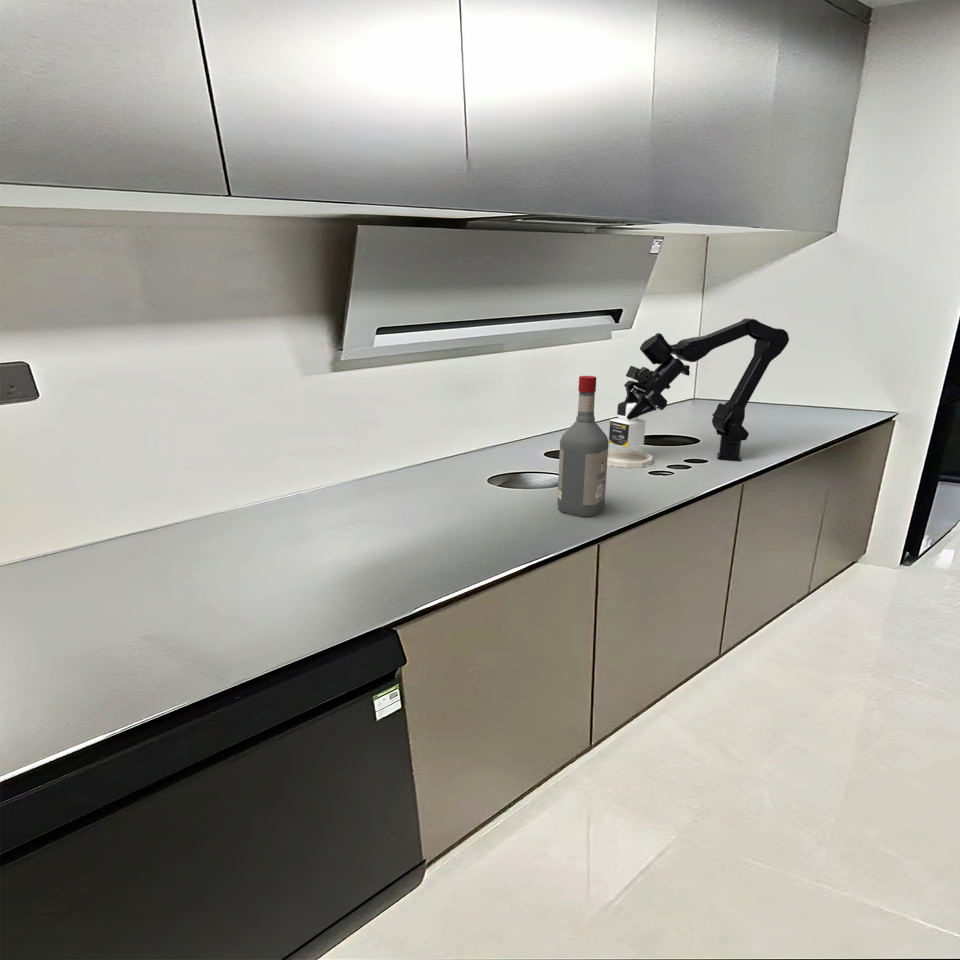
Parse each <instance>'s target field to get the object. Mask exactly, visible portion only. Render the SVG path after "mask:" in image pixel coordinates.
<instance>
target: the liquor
mask: <svg viewBox="0 0 960 960" xmlns="http://www.w3.org/2000/svg"><path fill="white" fill-rule="evenodd" d="M596 390H597V376H593V375H581V376H579V377H578V405H577V415H576V418H575V421H574V423H572V425H570V427H569V428H568V429H567V430H566V431H565V432H564V433H563V434H562V436H561V438H560V439H559V455H558V456H559V458H558V483H557V507H558V509H559V510H560V511H561V512H562V513H563V514H567V515H571V516H576V517H580V518H589V517H591V518H592V517H594V516H596V515H598V514H599V513H600V512H602V511H603V510H604V509H605V504H606V503H605V501H606V489H607V488H606V486H607V470H608V466H607V459H608V449H609V445H610V444H609V437H608V436H607V435H606V433H605V432H604V431H603V430H602V428H601V427H600V426H599V425H598V424H597V422H596V418H595V417H596V416H595V399H596V398H595V395H596V394H595V393H596Z"/></svg>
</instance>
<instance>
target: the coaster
mask: <svg viewBox="0 0 960 960" xmlns="http://www.w3.org/2000/svg"><path fill="white" fill-rule="evenodd" d="M653 458H654V457H653V455H651V454H649V453H648V452H645V451H640V450H637V449H630V448H608V459H607V465H610V466H620V467H642V466H646V465H650V464H651V465H652V464H653V460H654V459H653ZM651 465H650V466H651ZM610 466H609V467H610ZM646 467H647V466H646Z"/></svg>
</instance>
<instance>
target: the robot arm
mask: <svg viewBox="0 0 960 960" xmlns="http://www.w3.org/2000/svg"><path fill="white" fill-rule="evenodd" d="M747 336H748V337H750V338H751V339H753V340H755V342H754V345H753V346H754V348H753V350H754V351H753V356H752V358H751V360H750V362H749V363H748V365H747V367H746V369H745V370H744V373H743V374H742V376H741V378H740V380H739V382H738V383H737V385H736V388H734V390H733V393H732V394H731V397H730V398H729V400H728V401H726V402H725V403H724V404H723V403H721V402H719V403H718V405H717V407H716V409H715V411H714V412H713V413H712V414H711V415H712V420H711V423H712V426H713V428H714V429H715V431H716V434H717V435H718V436H720V443H719V452H717V453H716V456H717V458H716V459H717V460H728V461H736V462H737V461H738V462H739V461H742V456H741V454H740V453H741V447H742V441H747V439H748V437H749V435H750V433H749V432H748V431H747V429H746V428H745V427H744V426H743V423H744V420H745V417H746V414H745V413H746V407H747V405H748V403H749V401H750V399H751V398H752V396H753V394H754V392H755V391H756V388H757V387H758V385H759V384H760V381H761V380H762V377H763V376H764V374H765V372H766V370H767V368H768V367H769V366H770V363H771V362H772V361H773V360H774V359H775V358H777V357H778V356H779V355H781V354H782V352H783V351H784V350H785V349H786V347H787V346H788V344H789V341H790V337H789V333H788V332H787V331H786V330H785V329H783V328H777V327H772V326H770V325H767V324H764V323H762V322H761V321H758V320H757V319H755V318H743V319H742V320H740V321H738V322H735V323H733V324H729V325H728V326H726V327H723V328H720V329H718V330H716V331H713V332H711V333H708V334H706V335H701V336H694V337H689V338H684V339H681V340H679V341H677V342H676V343H675V344H670V343H669V342H668V341H667V340H666V338H665V337H664V335H663V334H662V333H659V332H657V333H655V335H652V336H651V337H650V338H647V339H646V340H644V341H643V343H642V344H641V345H640V347H639V350H640V351H641V353H642V354H643V355H644V356H645V358H647V359H648V360H649V361H650V363H651V364H652V365H658V366H657V367H656V368H655V369H654V370H651V369H649V368H647V367H645V366H641V368H639V367H636V366H634V365H630V366H629V368H628V370H627V373H626V374H625V376H626V377H628V378H631V379H632V380H627V381H626V382H625V383H624V385H623V386H624V387H625V391H626V396H625V400H623V402H635V403H637V404H636V405H635V406H634V407H633V409H632V410H631V411H630V413H629V414H628V415H627V419H629V420H630V419H632V418H635V417H638V416H639V417H640V416H642V415H645V414H648V413H650V412H651V413H652V412H653V411H658V410H660V411H663V410H664V409H665V408H666V407H667V406H668V400H667V399H666V398H665V397H664V396H663V395H662V393H663V392H664V391H665V390H669V389H670V388H671V386H670V385H671V383H673V382H674V380H676V379H677V378H678V376H679V375H680V374H682V375H683V376H687V377H689V376H690V373H691V372H690V367H691V366H690V365H688V364H684V362H688V363H696V362H698V361H700V360H701V359H703V358H705V357H706V356H707V355H708V354H709V353H711V352H712V351H713V350H714V349H717V348H719V347H721V346H724V345H727V344H729V343H732V342H734V341H737V340H739V339H741V338H744V337H747ZM673 355H675V356H676V357H674V356H673ZM683 361H684V362H683ZM657 409H658V410H657Z"/></svg>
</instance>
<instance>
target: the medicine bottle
mask: <svg viewBox="0 0 960 960" xmlns="http://www.w3.org/2000/svg"><path fill="white" fill-rule="evenodd" d="M636 404H637V403H635V402H624V401H622V402H619V403H618V404H617V412H616V417H617V418H616V417H615V418H611V419H609V430H608V431H609V433H608V441H609V444H608V445H614V446H618V447H621V448H623V449H630V448H634V447H639V446H643V445H644V444H645V435H646V434H645V433H646V432H645V431H646V420H644V419H639V417H640V416H638V417H635V418H632V419H630V420H629V419H627V415H628V414H629V413H630V411H631V410H632V409H633V407H634V406H635V405H636Z"/></svg>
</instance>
